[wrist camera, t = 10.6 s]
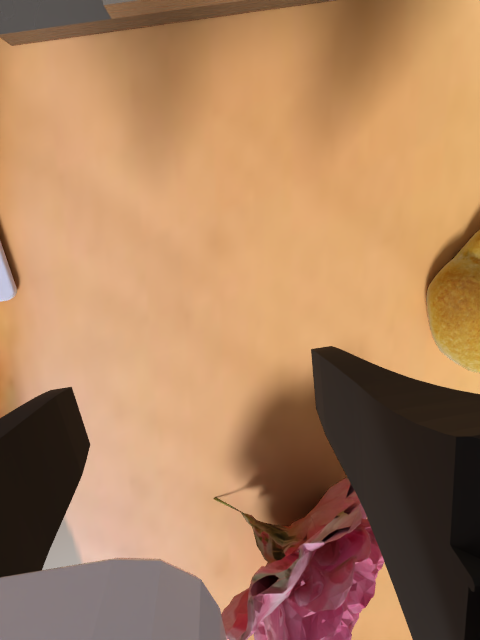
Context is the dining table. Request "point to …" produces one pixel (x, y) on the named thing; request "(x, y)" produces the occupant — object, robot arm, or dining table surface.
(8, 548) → the robot arm
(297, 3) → the grey plate with knobs
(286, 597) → the flower
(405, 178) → the dining table surface
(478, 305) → the bread roll
